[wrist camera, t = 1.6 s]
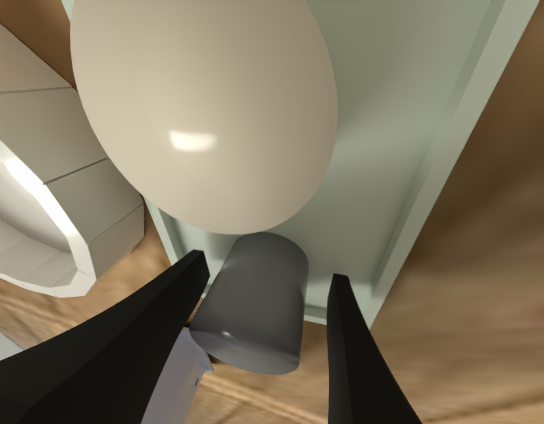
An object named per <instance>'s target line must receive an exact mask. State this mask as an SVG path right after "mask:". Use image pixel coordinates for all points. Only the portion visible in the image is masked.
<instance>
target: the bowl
mask: <svg viewBox="0 0 544 424" xmlns="http://www.w3.org/2000/svg"><path fill="white" fill-rule="evenodd" d="M143 203H144V202H143V200H142V197H141V195H140V193H139V192H138V191H137V190H136V189H135V188H134V187H133V186H132V185H131V184H130V183H129V182H128V180H127V179H126V178H125V177H124V176H123V175H122V173H121V172H120V171H119V170H118V169H117V167H116V166H115V165H114V163H113V162H112V161H111V159H110V158H109V156H108V155H107V153H106V152H105V150H104V149H103V147H102V145H101V144H100V142H99V140H98V138H97V136H96V135H95V133H94V131H93V129H92V127H91V125H90V122H89V120H88V118H87V115H86V113H85V111H84V108H83V105H82V102H81V99H80V96H79V94H78V93H77V91H76V90H75V89H74V88H72V86H71V85H70V84H69V83H68V82H67V81H66V80H65V79H63V78H62V77H61V76H60V75H59V74H58V73H56V72H55V71H54V70H53V69H52V68H51V67H50V66H48V65H47V64H46V63H45V62H44V61H43V60H42V59H40V58H39V57H38V56H37V55H36V54H35V53H33V52H32V51H31V50H30V49H29V48H28V47H27V46H25V45H24V44H23V43H22V42H21V41H20V40H19V39H17V38H16V37H15V36H14V35H13V34H12V33H10V32H9V31H8V30H7V29H6V28H5V27H4V26H2V25H1V24H0V278H2V279H4V280H6V281H9V282H11V283H13V284H16V285H18V286H20V287H23V288H25V289H28V290H32V291H36V292H40V293H44V294H48V295H52V296H56V297H61V298H63V297H75V296H85V295H86V294H87V293H88V292H90V291H91V290H92V289H93V288H94V287H95V286H96V285H97V284H98V283H99V282H100V281H101V280H102V279H103V278H105V277H106V276H107V275H108V274H109V273H110V272H111V271H112V270H113V269H114V268H115V267H116V266H117V265H118V264H120V263H121V262H122V261H123V260H124V259H125V258H126V257H127V256H128V255H129V254H130V253H131V252H132V251H133V249H134V248H135V247H136V246H137V245H138V243H139V242H140V241H141V240H142V238H143V237H144V204H143Z"/></svg>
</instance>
